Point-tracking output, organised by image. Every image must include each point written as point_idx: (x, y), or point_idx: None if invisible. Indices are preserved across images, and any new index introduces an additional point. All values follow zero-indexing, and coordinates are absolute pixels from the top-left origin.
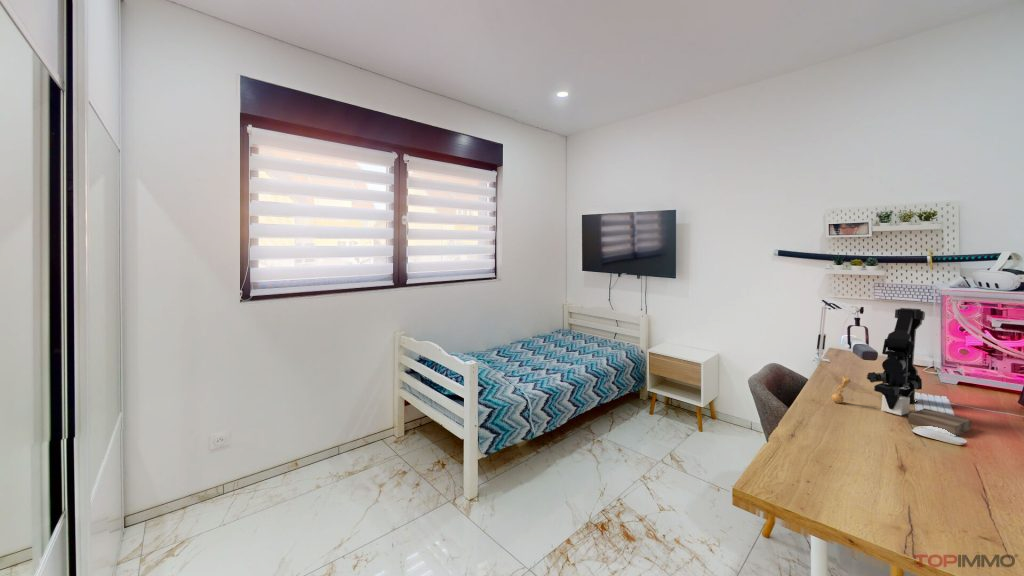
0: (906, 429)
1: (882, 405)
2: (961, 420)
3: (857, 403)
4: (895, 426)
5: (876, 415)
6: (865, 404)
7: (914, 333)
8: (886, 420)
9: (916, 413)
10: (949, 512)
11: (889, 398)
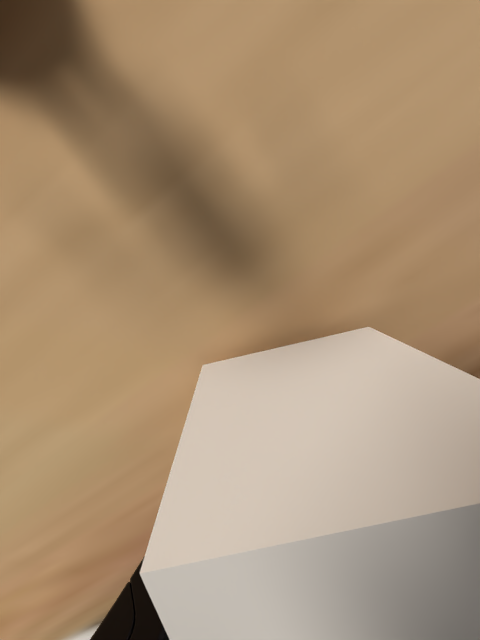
0: (38, 630)
1: (196, 403)
2: None
3: (197, 68)
4: (8, 591)
5: (62, 419)
6: (262, 133)
7: None
8: (46, 510)
9: None
10: None
11: None
